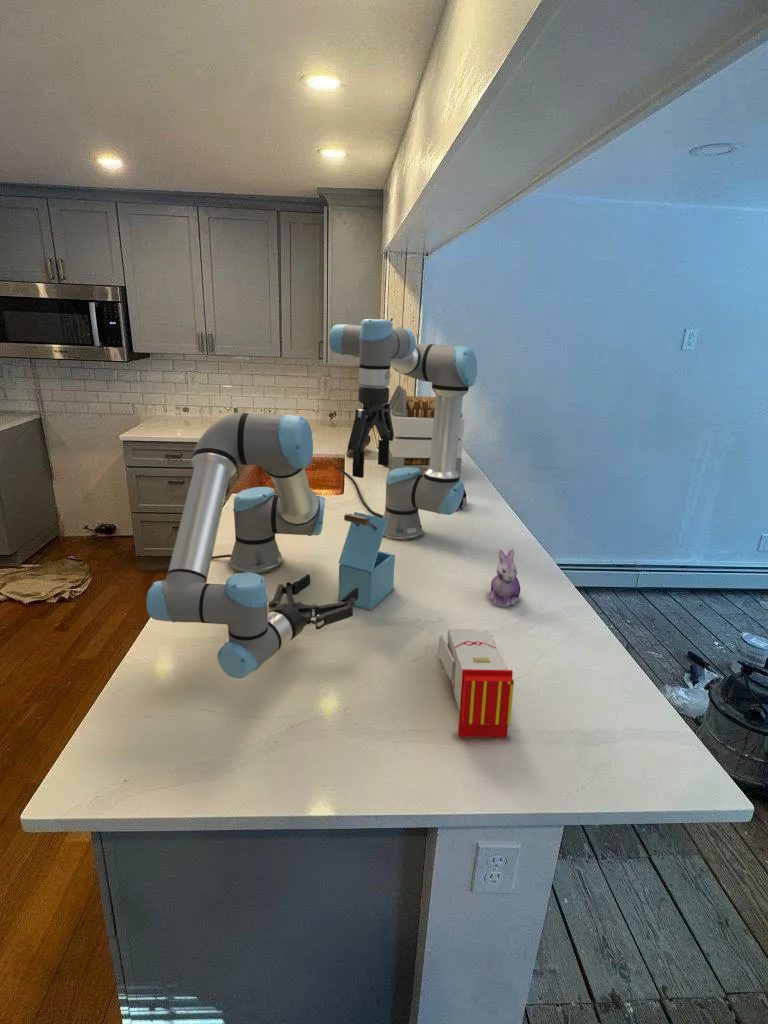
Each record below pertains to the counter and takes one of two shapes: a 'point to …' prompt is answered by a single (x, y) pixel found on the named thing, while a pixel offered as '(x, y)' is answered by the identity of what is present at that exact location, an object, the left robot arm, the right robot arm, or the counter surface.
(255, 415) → the left robot arm
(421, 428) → the white wooden crate
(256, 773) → the counter surface
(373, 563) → the lid
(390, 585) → the chest
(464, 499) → the figurine character
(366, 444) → the fossil
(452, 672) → the toy
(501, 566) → the figurine
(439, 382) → the right robot arm
